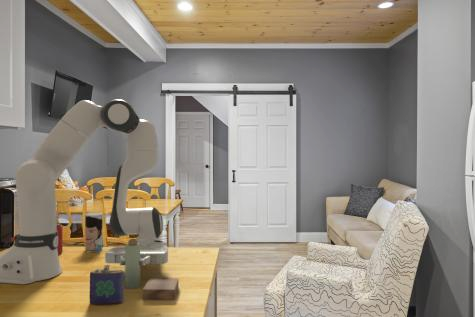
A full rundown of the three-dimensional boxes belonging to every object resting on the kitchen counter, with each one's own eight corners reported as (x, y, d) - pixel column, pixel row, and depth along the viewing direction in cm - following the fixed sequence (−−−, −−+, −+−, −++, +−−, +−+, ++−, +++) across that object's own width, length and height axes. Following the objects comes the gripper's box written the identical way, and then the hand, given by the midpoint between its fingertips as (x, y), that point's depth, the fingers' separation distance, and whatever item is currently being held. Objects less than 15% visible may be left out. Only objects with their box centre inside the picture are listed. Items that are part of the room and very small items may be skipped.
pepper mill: (123, 288, 114) (123, 240, 113) (127, 283, 119) (127, 236, 118) (138, 288, 114) (138, 240, 114) (141, 283, 119) (141, 236, 118)
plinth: (142, 299, 106) (142, 289, 106) (149, 287, 115) (149, 278, 115) (174, 299, 106) (174, 289, 106) (178, 287, 115) (178, 278, 115)
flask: (124, 300, 106) (124, 263, 105) (122, 304, 103) (122, 266, 102) (91, 301, 105) (90, 263, 104) (87, 305, 102) (87, 267, 101)
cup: (84, 248, 157) (84, 213, 156) (101, 246, 160) (101, 212, 159) (86, 252, 151) (86, 216, 150) (103, 250, 154) (103, 214, 153)
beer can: (55, 256, 145) (54, 226, 145) (40, 255, 146) (40, 225, 146) (66, 251, 152) (66, 222, 151) (51, 250, 153) (51, 221, 152)
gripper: (111, 241, 129) (98, 252, 115) (171, 241, 129) (164, 253, 115) (111, 259, 129) (98, 272, 115) (171, 259, 129) (164, 273, 116)
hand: (132, 263), depth 115 cm, fingers closed on pepper mill, 5 cm apart
